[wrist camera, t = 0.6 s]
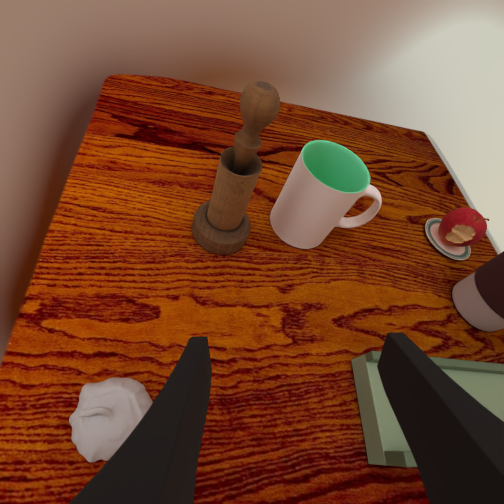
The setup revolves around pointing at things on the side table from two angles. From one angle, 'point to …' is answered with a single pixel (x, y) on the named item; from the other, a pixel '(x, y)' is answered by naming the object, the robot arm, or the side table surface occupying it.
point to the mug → (322, 195)
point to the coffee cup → (483, 296)
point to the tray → (384, 420)
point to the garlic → (107, 416)
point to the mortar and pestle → (236, 176)
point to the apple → (456, 232)
